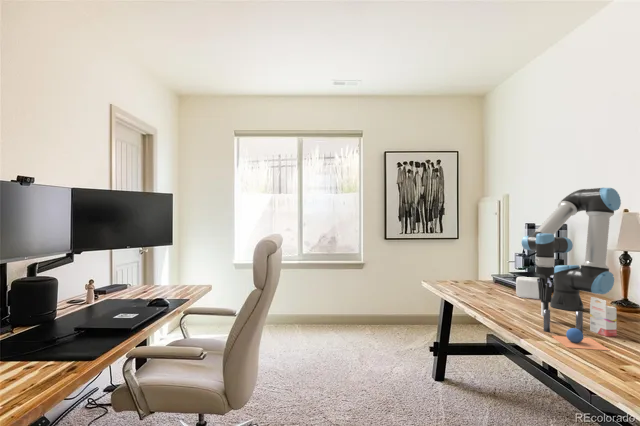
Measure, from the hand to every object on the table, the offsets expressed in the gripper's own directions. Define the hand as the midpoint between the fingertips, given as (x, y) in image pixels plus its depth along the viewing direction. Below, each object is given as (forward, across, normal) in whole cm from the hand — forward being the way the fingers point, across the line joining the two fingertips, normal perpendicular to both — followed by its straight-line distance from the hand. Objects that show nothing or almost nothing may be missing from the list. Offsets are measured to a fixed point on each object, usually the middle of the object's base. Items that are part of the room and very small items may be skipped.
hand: (545, 315), depth 176 cm
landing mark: (+2, +33, 0) cm, 33 cm away
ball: (-1, +33, -2) cm, 33 cm away
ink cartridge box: (+2, +17, +16) cm, 23 cm away
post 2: (+2, +19, +6) cm, 20 cm away
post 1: (+2, +19, -6) cm, 20 cm away
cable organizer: (+3, -56, +12) cm, 57 cm away
